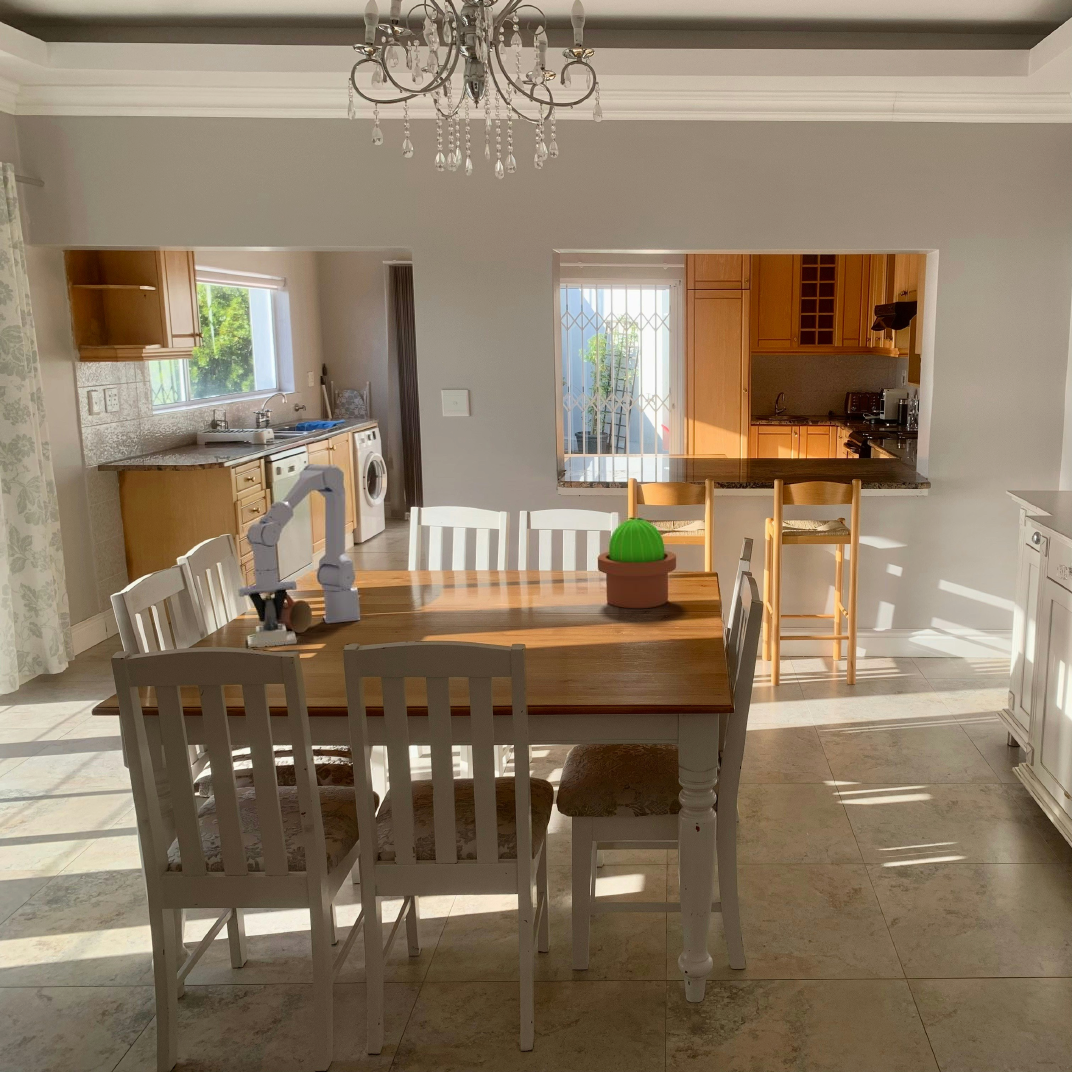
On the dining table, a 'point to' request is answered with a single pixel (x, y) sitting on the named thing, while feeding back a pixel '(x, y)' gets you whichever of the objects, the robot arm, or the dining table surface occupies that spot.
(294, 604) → the mug
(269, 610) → the cell
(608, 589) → the potted cactus
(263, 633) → the charger
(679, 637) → the dining table surface
